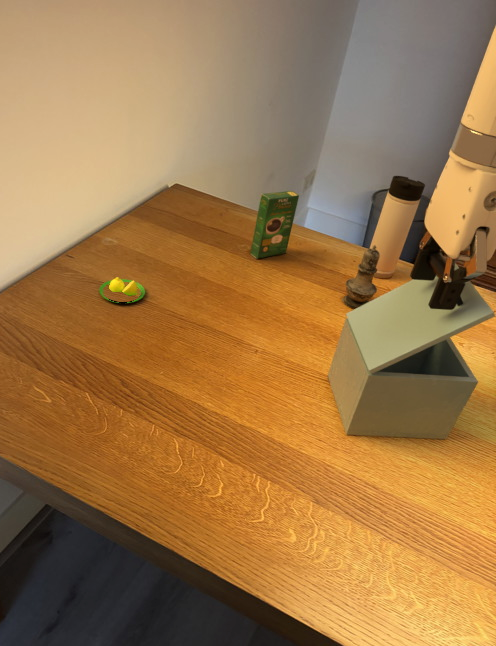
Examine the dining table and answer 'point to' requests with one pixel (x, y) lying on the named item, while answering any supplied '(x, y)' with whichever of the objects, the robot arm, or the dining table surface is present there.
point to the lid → (413, 319)
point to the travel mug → (395, 223)
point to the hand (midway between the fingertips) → (431, 291)
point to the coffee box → (274, 223)
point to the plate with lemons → (123, 288)
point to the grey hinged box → (400, 391)
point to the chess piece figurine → (362, 281)
